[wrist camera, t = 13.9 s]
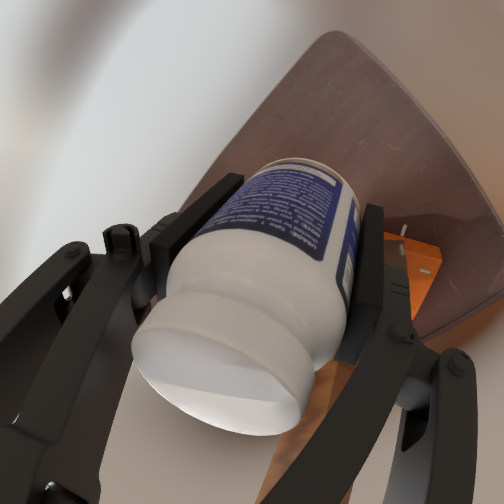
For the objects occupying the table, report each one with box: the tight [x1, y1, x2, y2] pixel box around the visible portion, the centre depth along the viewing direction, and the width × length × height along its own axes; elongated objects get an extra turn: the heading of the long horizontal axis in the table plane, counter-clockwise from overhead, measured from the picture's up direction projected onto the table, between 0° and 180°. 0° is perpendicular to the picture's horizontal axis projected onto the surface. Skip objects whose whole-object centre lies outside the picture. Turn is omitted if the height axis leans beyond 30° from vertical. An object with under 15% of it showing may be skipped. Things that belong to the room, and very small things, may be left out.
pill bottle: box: [131, 158, 361, 435], centre depth 11 cm, size 6×6×10 cm
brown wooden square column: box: [255, 356, 359, 504], centre depth 33 cm, size 10×10×38 cm
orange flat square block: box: [384, 224, 443, 320], centre depth 37 cm, size 12×13×3 cm
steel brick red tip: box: [384, 240, 408, 276], centre depth 32 cm, size 6×2×8 cm, turn 11°
